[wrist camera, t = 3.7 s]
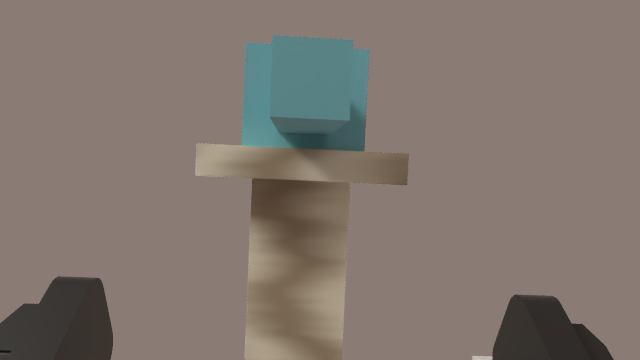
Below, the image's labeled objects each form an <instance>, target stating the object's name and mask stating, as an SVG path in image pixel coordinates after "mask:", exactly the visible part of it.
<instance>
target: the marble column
mask: <svg viewBox="0 0 640 360" xmlns="http://www.w3.org/2000/svg"><path fill="white" fill-rule="evenodd" d="M196 147H197V148H196V171H195V172H196V173H195V175H196V176H198V175H199V176H218V177H242V178H252V197H251V220H250V244H249V266H248V267H249V268H248V290H247V312H246V335H245V358H244V360H342V341H343V320H344V300H345V281H346V261H347V240H348V221H349V220H348V219H349V201H350V183H370V184H392V185H407V175H408V158H409V154H403V153H402V154H401V153H382V152H362V151H342V150H322V149H301V148H281V147H261V146H239V145H219V144H198V143H197V146H196Z"/></svg>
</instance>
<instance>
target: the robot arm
mask: <svg viewBox="0 0 640 360" xmlns="http://www.w3.org/2000/svg"><path fill="white" fill-rule="evenodd" d="M112 347H113V333H112V327H111V322H110V317H109V312H108V307H107V302H106V297H105V293H104V288H103V284H102V281H101V280H100V279H99V278H85V277H57V278H55V279H54V280H53V281H52V283H51V284H50V286H49V288H48V289H47V291H46V293H45V294H44V296H43V298H42V300H41V301H40V303H39V304H23V305H22V306H21V307H20V308H18V309H17V310H16V311H15V312H13V313H12V314H11V315H10V316H9V317H7V318H6V319H5V320H4V321H3V322H1V323H0V360H110V359H111V354H112ZM492 360H613V358H612V356H611V355H610V353H609V351H608V350H607V348H606V346H605V345H604V344H603V343H602V342H601V341H600V340H599V339H598V338H596V337H595V336H594V335H593V334H592V333H591V332H590V331H589V330H588V329H587V328H586V327H585V326H584V325H583V324H571V322H570V320H569V318H568V316H567V314H566V313H565V311H564V309H563V307H562V305H561V304H560V302H559V301H558V299H557V298H555V297H554V296H537V295H514V296H513V297H512V298H511V299H510V302H509V304H508V307H507V310H506V313H505V316H504V319H503V321H502V324H501V328H500V330H499V333H498V336H497V338H496V341H495V344H494V348H493V357H492Z"/></svg>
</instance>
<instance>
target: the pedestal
mask: <svg viewBox="0 0 640 360" xmlns="http://www.w3.org/2000/svg"><path fill="white" fill-rule="evenodd" d="M472 360H492V357H488V356H472Z"/></svg>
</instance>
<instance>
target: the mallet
mask: <svg viewBox="0 0 640 360" xmlns="http://www.w3.org/2000/svg"><path fill="white" fill-rule="evenodd" d="M368 68H369V50H363V49H353V40H342V39H325V38H308V37H307V38H306V37H290V36H275V35H273V44H261V43H246V59H245V83H244V84H245V85H244V108H243V131H242V146H261V147H281V148H301V149H322V150H342V151H362V152H364V147H365V145H364V144H365V127H366V126H365V125H366V107H367V106H366V105H367V87H368Z"/></svg>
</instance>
